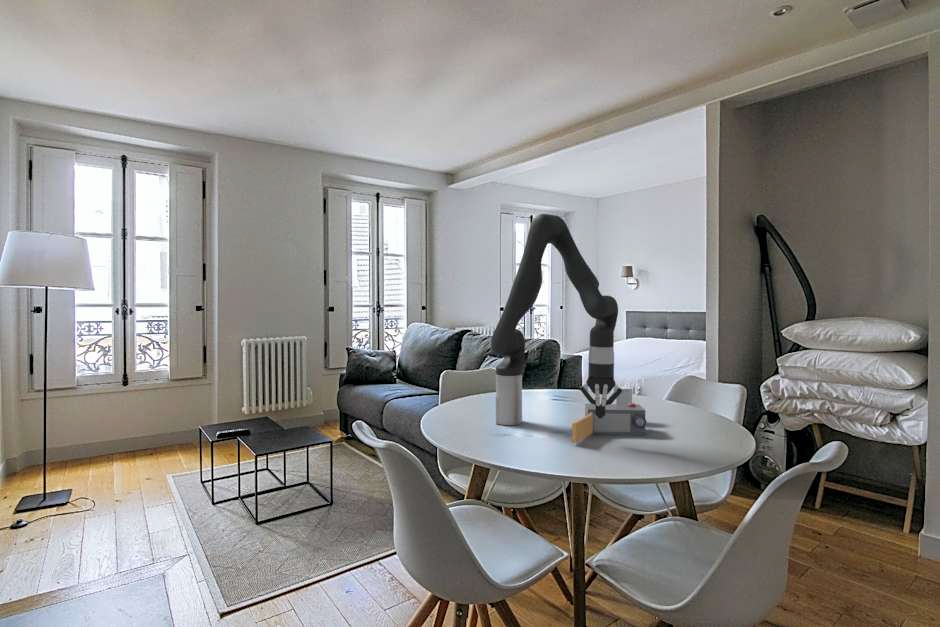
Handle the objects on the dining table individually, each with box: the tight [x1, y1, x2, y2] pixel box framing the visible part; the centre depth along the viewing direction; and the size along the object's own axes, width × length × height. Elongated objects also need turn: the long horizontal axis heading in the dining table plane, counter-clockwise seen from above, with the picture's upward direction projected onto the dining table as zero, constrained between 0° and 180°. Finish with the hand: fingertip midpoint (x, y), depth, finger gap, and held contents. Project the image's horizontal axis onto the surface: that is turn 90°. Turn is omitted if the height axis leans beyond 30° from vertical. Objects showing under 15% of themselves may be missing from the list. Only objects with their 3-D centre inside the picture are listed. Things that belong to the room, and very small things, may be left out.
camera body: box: [584, 402, 647, 436], centre depth 168 cm, size 18×11×9 cm, turn 84°
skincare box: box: [611, 386, 633, 404], centre depth 182 cm, size 6×4×12 cm
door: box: [569, 412, 595, 444], centre depth 159 cm, size 15×2×7 cm, turn 145°
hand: (600, 417), depth 156 cm, fingers closed
